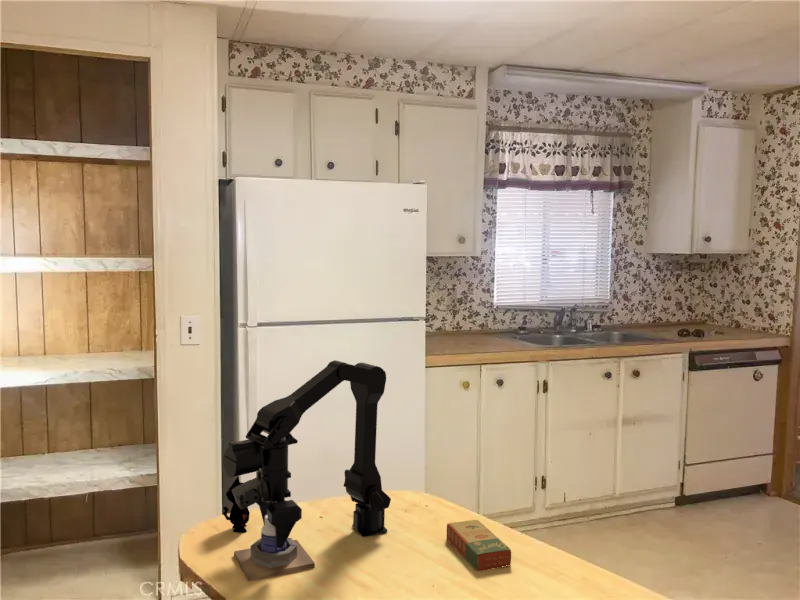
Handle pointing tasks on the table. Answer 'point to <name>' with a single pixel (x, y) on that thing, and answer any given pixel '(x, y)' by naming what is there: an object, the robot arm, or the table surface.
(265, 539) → the pill bottle
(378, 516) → the robot arm
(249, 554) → the collar board
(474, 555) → the carton
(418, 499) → the table surface
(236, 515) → the cat figurine
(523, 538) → the table surface
